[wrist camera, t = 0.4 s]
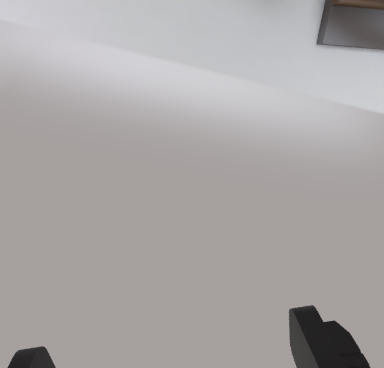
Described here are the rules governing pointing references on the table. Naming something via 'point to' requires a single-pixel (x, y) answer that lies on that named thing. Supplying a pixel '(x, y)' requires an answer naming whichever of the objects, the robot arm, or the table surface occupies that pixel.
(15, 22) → the table surface
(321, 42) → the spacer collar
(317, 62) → the table surface
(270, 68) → the table surface
